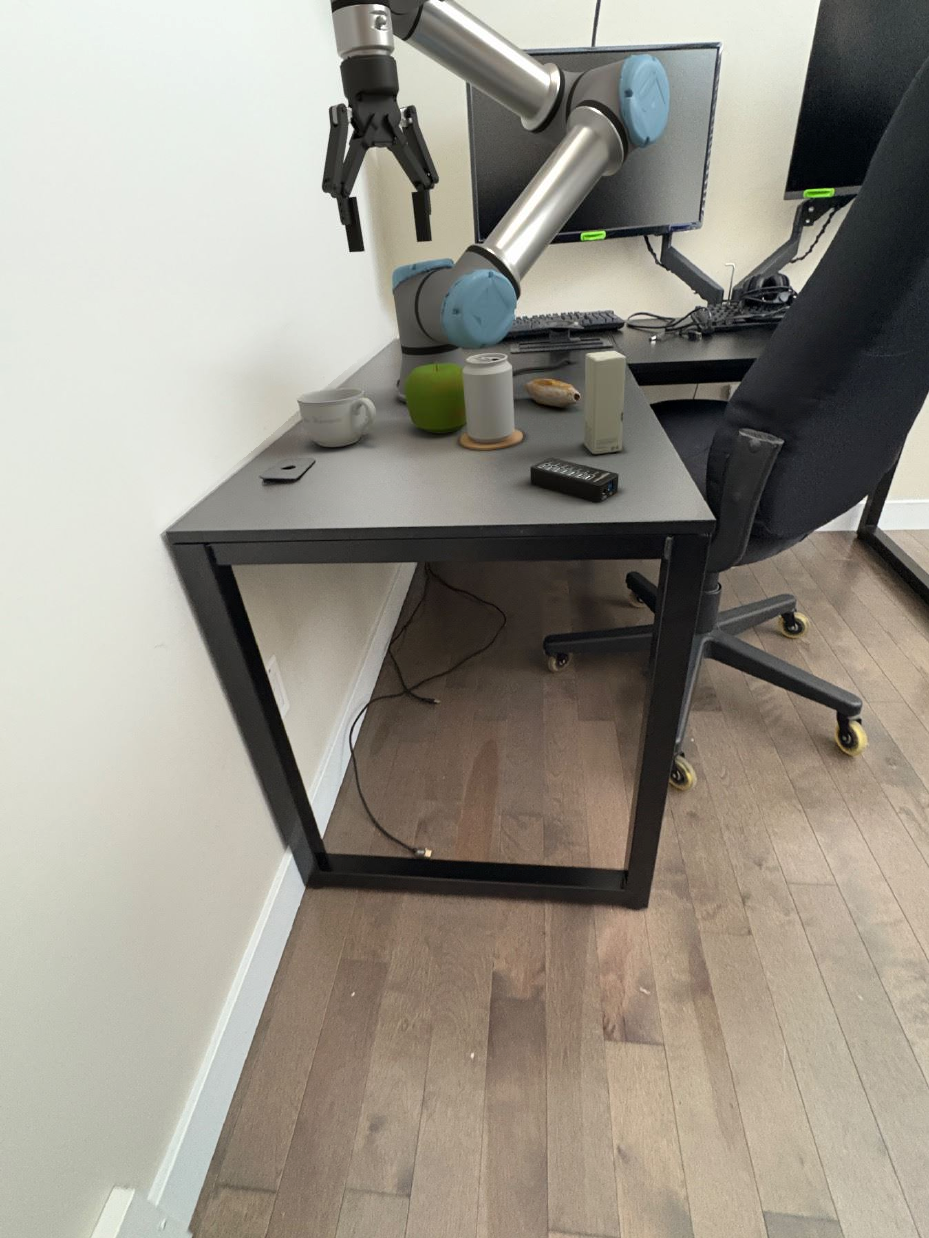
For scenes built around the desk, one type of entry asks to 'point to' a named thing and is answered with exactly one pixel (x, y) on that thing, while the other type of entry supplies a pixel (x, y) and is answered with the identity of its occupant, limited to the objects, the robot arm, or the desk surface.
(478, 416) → the can
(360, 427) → the teacup
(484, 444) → the coaster
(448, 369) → the apple
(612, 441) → the box
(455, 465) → the desk surface
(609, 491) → the multiport hub
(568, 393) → the beige elongated hollow pod
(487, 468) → the desk surface
